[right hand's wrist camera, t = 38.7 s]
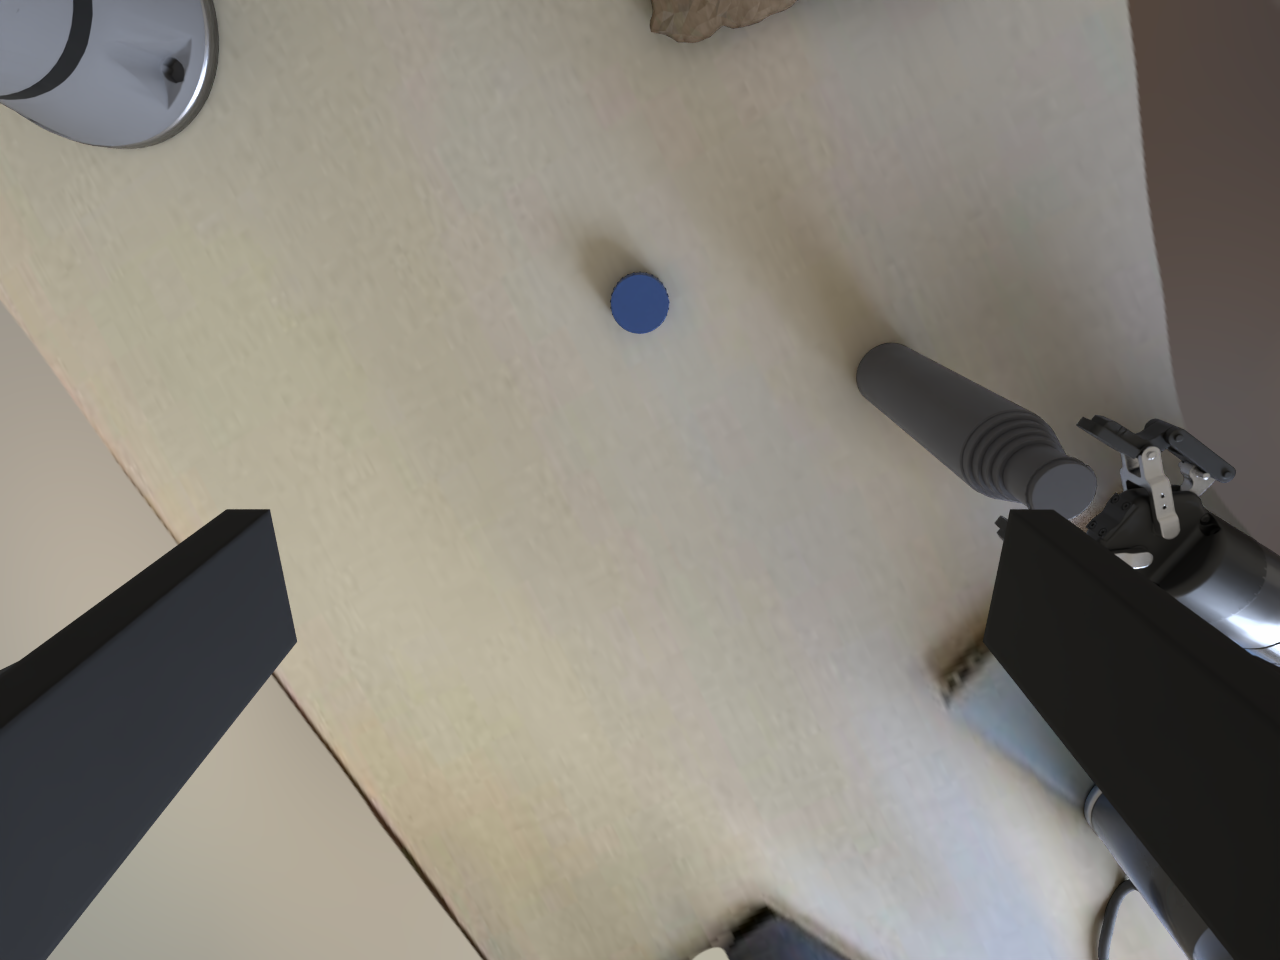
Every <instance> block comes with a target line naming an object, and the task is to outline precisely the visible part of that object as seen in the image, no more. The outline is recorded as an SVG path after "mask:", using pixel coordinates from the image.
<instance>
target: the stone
mask: <svg viewBox="0 0 1280 960" xmlns="http://www.w3.org/2000/svg"><path fill="white" fill-rule="evenodd" d="M796 1H798V0H651V3H652V7H653V14H652V18H651V20H650V29H651V32H654V33H659V34H664V35H667V36H669V37H671V38H673V39H674V40H676V41H677V42H688V43H695V42H699V41H701V40H704V39H706V38H709V37H711V36H712V35H713V34H714V33H715V32H716V31H717V30H718V29H719V28H721V27H722V26H727V27H730V28H733V29H734V28H739V27H745V26H749V25H752V24H755V23H758V22H760V21H762V20H763V19H765V18H766V17H768V16H770V15H772V14H775V13H778V12H781V11H784V10H786V9H788V8H789V7H791V6H792V5H793V4H794V3H795V2H796Z"/></svg>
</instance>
